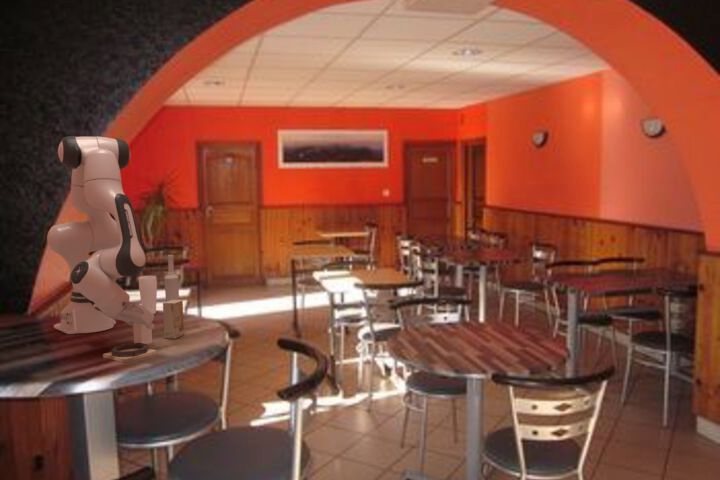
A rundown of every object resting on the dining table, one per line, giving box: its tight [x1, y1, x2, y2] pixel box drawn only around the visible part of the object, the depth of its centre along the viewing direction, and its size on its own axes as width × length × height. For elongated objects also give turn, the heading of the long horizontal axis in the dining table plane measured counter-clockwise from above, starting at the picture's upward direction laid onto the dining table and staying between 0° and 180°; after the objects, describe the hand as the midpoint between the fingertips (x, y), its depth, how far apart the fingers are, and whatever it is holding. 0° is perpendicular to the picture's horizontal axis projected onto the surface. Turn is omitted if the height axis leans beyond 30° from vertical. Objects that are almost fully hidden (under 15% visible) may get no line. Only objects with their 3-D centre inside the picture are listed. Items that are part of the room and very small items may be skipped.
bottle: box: [163, 254, 180, 302], centre depth 227 cm, size 5×5×25 cm
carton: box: [132, 323, 153, 345], centre depth 195 cm, size 4×4×9 cm
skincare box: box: [162, 299, 185, 340], centre depth 203 cm, size 6×4×12 cm
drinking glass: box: [138, 275, 158, 315], centre depth 239 cm, size 7×7×15 cm
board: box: [102, 342, 158, 364], centre depth 182 cm, size 11×11×2 cm
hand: (142, 325), depth 195 cm, fingers open, 8 cm apart
